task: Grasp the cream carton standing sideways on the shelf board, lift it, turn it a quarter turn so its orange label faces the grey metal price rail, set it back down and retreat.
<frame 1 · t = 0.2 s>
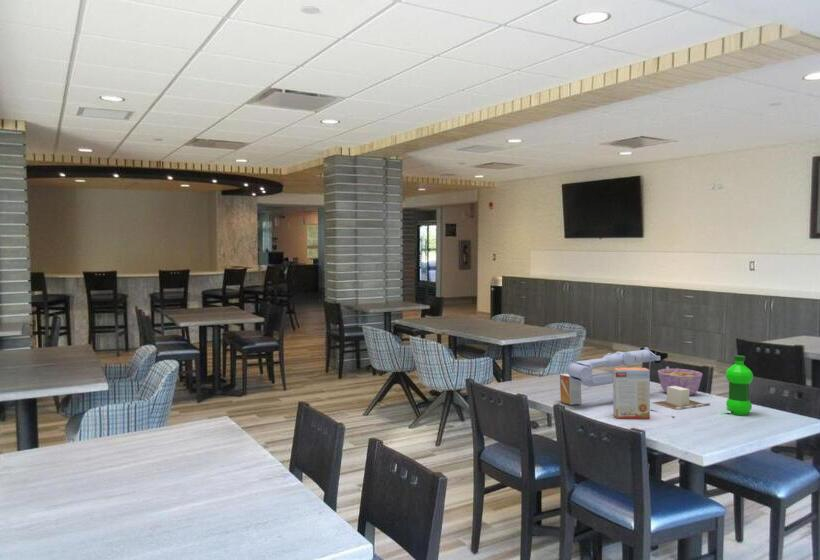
hand: (661, 353, 296), 21 cm above the table, tool horizontal, fingers open, 7 cm apart
shelf board: (679, 407, 280), on the table
bowl of food: (679, 396, 301), on the table
cracker box: (631, 417, 263), on the table
carton: (681, 402, 282), point 1 cm above the table, touching shelf board
plastic bottle: (738, 414, 268), on the table
small box: (571, 403, 288), on the table, touching arm
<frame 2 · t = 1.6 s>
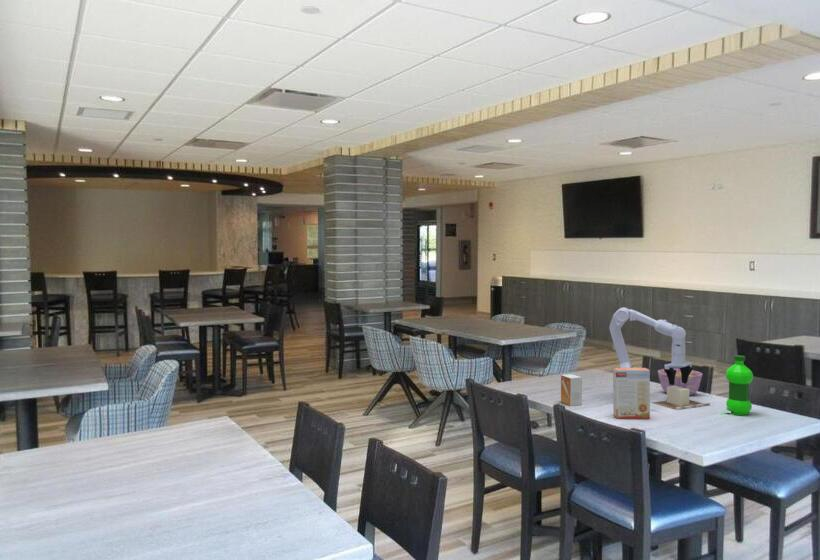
hand: (678, 383, 280), 10 cm above the table, tool pointing down, fingers open, 7 cm apart
small box: (571, 404, 288), on the table
everything else where it was.
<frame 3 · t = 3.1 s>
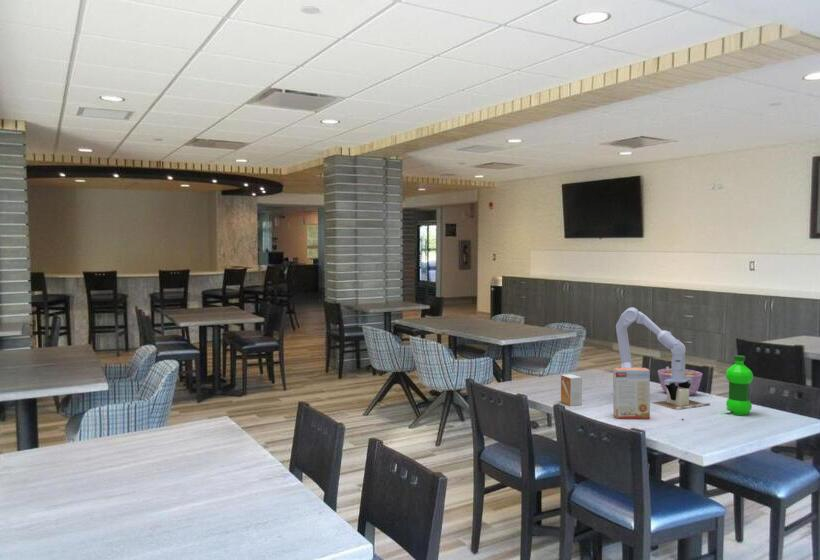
hand: (677, 399, 280), 3 cm above the table, tool pointing down, fingers closed on carton, 5 cm apart
carton: (681, 402, 281), point 1 cm above the table, touching gripper, shelf board
everything else where it was.
when the fingers open (4 cm above the table, at t = 7.6 s): carton stays where it is, resting on shelf board.
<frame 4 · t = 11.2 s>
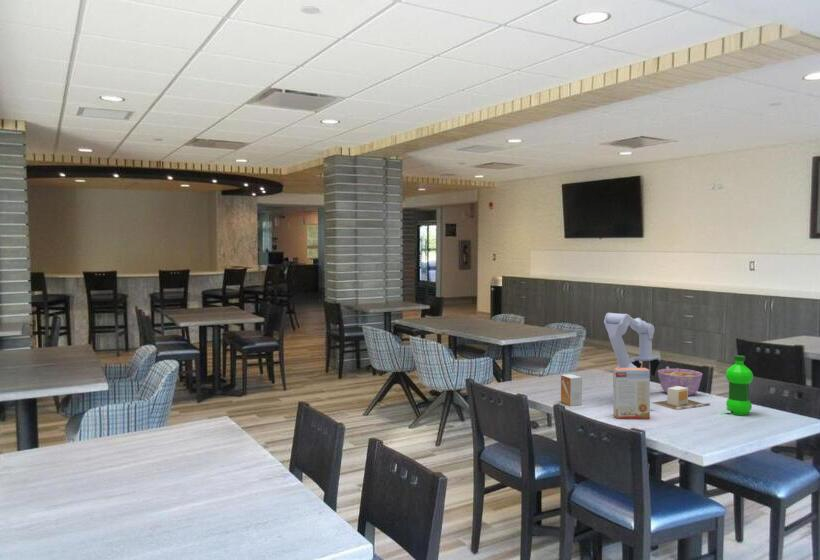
hand: (645, 375, 299), 10 cm above the table, tool pointing down, fingers open, 7 cm apart
carton: (682, 404, 279), point 1 cm above the table, touching shelf board
everything else where it was.
at the end: carton 0.5 cm from the target spot, point 1.5 cm above the table; carton tilted 0°; carton touching shelf board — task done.
